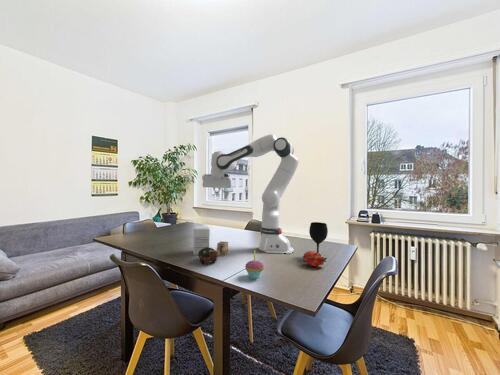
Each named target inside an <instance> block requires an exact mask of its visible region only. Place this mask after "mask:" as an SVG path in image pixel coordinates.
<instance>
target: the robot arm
mask: <svg viewBox="0 0 500 375" xmlns="http://www.w3.org/2000/svg"><path fill="white" fill-rule="evenodd" d="M270 152H275V154H276V155H277V156H279V157H280V162H279V165H278V166H277V168H276V170H275V172H274V174H273V176H272V177H271V179H270V181H269V182H268V184H267V185H266V187H265V189H264V191H263V193H262V195H261V201H262V203H263V204H262V212H261V227H260V242H259V245H258V249H259V251H261V252H264V253H267V254H284V253H286V254H287V255H288V254H289V255H290V254H293V253H292V252H294V248H293V246H291V242H290V240H289V239H288V238H287V237H286V236H285V235H284V234H282V233H283V230H282V228H281V227H280V206H281V204H280V202H281V198H282V196H283V194H284V193H285V192H286V190H287V187H288V186H289V184H290V182H291V180H292V178H293V176H294V175H295V173H296V171H297V169H298V166H299V159H298V158H297V157H298V156H296V155H294V152H295V150H294V146H293V144H292V143H291V142H290V141H289V139H287V138H286V137H277V136H276V135H275V134H272V133H270V134H267V135H264V136H262V137H259V138H257V139H256V140H253V141H252V142H250V143H248V144H246V145H245V146H243V147H241V148H238V149H236V150H234V151H231V152H229V153H224V152H223V151H214V152H213V153H212V155H211V161H210V162H211V163H210V164H211V170H210V173H209V174H206V173H205V174H203V175H202V178H201V179H202V187H203V188H212V189H213V192H214V195H219V194H220V191H221V190H222V189H225V188H226V189H227V188H228V189H230V188H232V180H231V178H230V177H231V176H230V174H229V173H227V172H224V171H225V170H226V171H233V170H234V169H236V168H237V165H238V162H237V161H239V160H241V159H243V158H244V159H245V158H259V157H262V156H264V155H266V154H268V153H270ZM216 188H217V189H218V190H217V191H216Z"/></svg>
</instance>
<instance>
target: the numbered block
mask: <svg viewBox="0 0 500 375" xmlns="http://www.w3.org/2000/svg"><path fill="white" fill-rule="evenodd" d="M216 251H217V253H218V255H217V256H222V257H225V256H227V255H228V254H229V242H228V241H219V242H217V243H216Z"/></svg>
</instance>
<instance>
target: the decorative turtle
mask: <svg viewBox="0 0 500 375" xmlns="http://www.w3.org/2000/svg"><path fill="white" fill-rule="evenodd" d="M197 256H198V259H199V261H200V263H201V264H203V263H204V265H205V266H208V265H209V264H210V263H213V264H216V262H217V258H218V256H219V255H218V253H217V249H214V248H212V247H210V246H209V247H206V248H203V249H201V250H200V251H199V253H198V255H197Z"/></svg>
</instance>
